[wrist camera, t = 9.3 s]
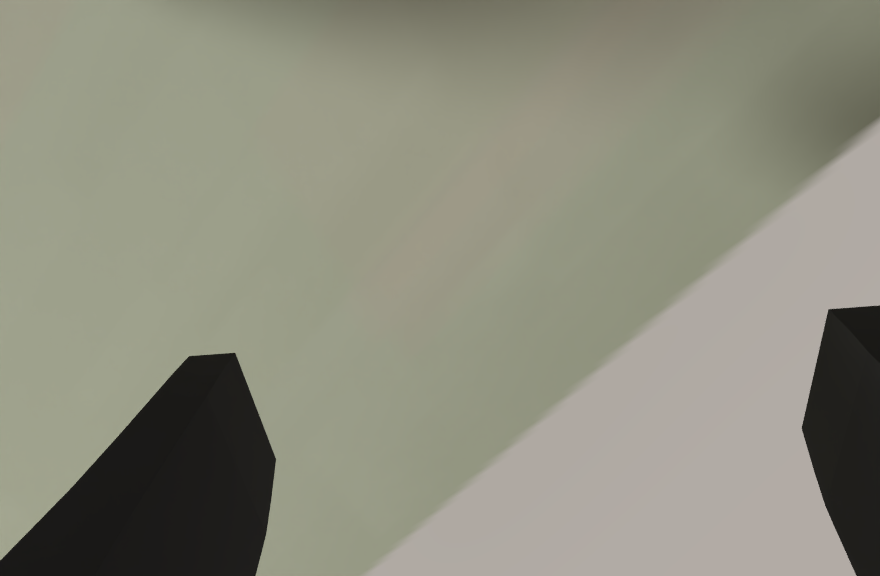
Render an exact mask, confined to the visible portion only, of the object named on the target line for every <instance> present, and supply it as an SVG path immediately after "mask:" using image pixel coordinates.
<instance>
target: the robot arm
mask: <svg viewBox="0 0 880 576" xmlns="http://www.w3.org/2000/svg"><path fill="white" fill-rule="evenodd" d="M802 431H803V434H804V438H805V441H806V444H807V448H808V451H809V455H810V458H811V461H812V465H813V468H814V472H815V475H816V478H817V481H818V484H819V487H820V490H821V493H822V497H823V500H824V502H825V506H826V508H827V510H828V513H829V515H830V517H831V520H832V522H833V524H834V526H835V529H836V531H837V533H838V535H839V538H840V540H841V542H842V544H843V546H844V549H845V551H846V553H847V555H848V558H849V560H850V562H851V564H852V567H853V569H854V571H855V573H856V575H857V576H880V306H868V307H856V308H843V309H842V308H841V309H829V310H828V314H827V319H826V323H825V327H824V332H823V337H822V341H821V346H820V350H819V355H818V359H817V363H816V367H815V372H814V376H813V381H812V385H811V390H810V394H809V399H808V403H807V408H806V412H805V417H804V421H803V425H802ZM275 463H276V458H275V456H274V453H273V450H272V448H271V445H270V443H269V440H268V437H267V435H266V432H265V430H264V427H263V424H262V422H261V419H260V417H259V414H258V411H257V409H256V406H255V404H254V401H253V398H252V396H251V393H250V391H249V388H248V385H247V383H246V380H245V377H244V375H243V372H242V370H241V367H240V364H239V362H238V359H237V357H236V354H235V353H228V354H214V355H200V356H189V357H188V358H187V359H186V360H185V361H184V362H183V363H182V365H181V366H180V367H179V368H178V369H177V370H176V371H175V372H174V373H173V374H172V375H171V377H170V378H169V379H168V380H167V381H166V382H165V383H164V385H163V386H162V387H161V388H160V389H159V390H158V391H157V393H156V394H155V395H154V396H153V397H152V398H151V399H150V401H149V402H148V403H147V404H146V405H145V406H144V407H143V409H142V410H141V411H140V412H139V413H138V414H137V415H136V417H135V418H134V419H133V420H132V421H131V422H130V423H129V425H128V426H127V427H126V428H125V429H124V430H123V431H122V433H121V434H120V435H119V436H118V437H117V438H116V439H115V440H114V441H113V443H112V444H111V445H110V446H109V447H108V448H107V449H106V450H105V451H104V453H103V454H102V455H101V456H100V457H99V458H98V459H97V460H96V461H95V463H94V464H93V465H92V466H91V467H90V468H89V469H88V470H87V471H86V472H85V474H84V475H83V476H82V477H81V478H80V479H79V480H78V481H77V482H76V484H75V485H74V486H73V487H72V488H71V489H70V490H69V491H68V492H67V493H66V494H65V495H64V496H63V497H62V498H61V499H60V500H59V501H58V502H57V503H56V504H55V505H54V506H53V507H52V508H51V509H50V510H49V511H48V513H47V514H46V515H45V516H44V517H43V518H42V519H41V520H40V521H39V522H38V523H37V524H36V525H35V526H34V527H33V528H32V529H31V530H30V531H29V532H28V533H27V534H26V535H25V536H24V537H23V538H22V539H21V540H20V541H19V542H18V543H17V544H16V545H15V546H14V547H13V548H12V549H11V550H10V551H9V552H8V553H7V554H6V555H5V556H4V557H3V559H2V560H0V576H255V575H256V571H257V567H258V564H259V560H260V556H261V552H262V548H263V544H264V540H265V536H266V531H267V524H268V517H269V510H270V504H271V496H272V488H273V479H274V471H275Z"/></svg>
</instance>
